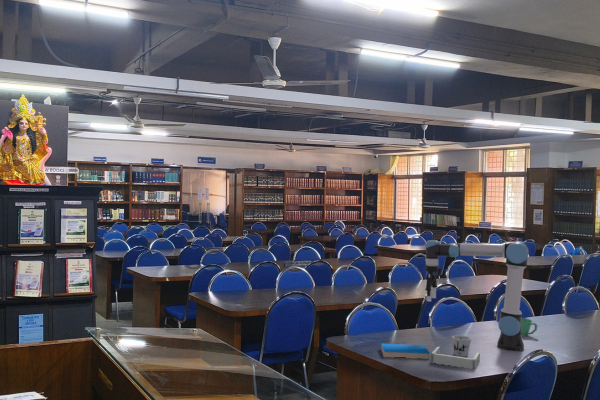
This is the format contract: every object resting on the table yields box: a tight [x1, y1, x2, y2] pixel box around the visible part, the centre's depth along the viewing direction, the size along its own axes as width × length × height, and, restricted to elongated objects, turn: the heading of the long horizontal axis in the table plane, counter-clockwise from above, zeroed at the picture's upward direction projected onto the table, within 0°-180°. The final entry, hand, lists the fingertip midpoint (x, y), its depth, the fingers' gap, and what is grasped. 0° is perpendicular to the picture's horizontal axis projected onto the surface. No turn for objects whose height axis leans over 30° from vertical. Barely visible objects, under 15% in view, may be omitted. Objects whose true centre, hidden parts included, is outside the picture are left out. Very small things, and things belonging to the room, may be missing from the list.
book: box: [380, 343, 431, 360], centre depth 313 cm, size 17×4×25 cm
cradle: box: [430, 346, 481, 370], centre depth 300 cm, size 23×17×5 cm
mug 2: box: [521, 317, 538, 337], centre depth 369 cm, size 15×10×10 cm
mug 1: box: [451, 334, 472, 358], centre depth 317 cm, size 10×15×10 cm
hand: (431, 299), depth 342 cm, fingers open, 13 cm apart
